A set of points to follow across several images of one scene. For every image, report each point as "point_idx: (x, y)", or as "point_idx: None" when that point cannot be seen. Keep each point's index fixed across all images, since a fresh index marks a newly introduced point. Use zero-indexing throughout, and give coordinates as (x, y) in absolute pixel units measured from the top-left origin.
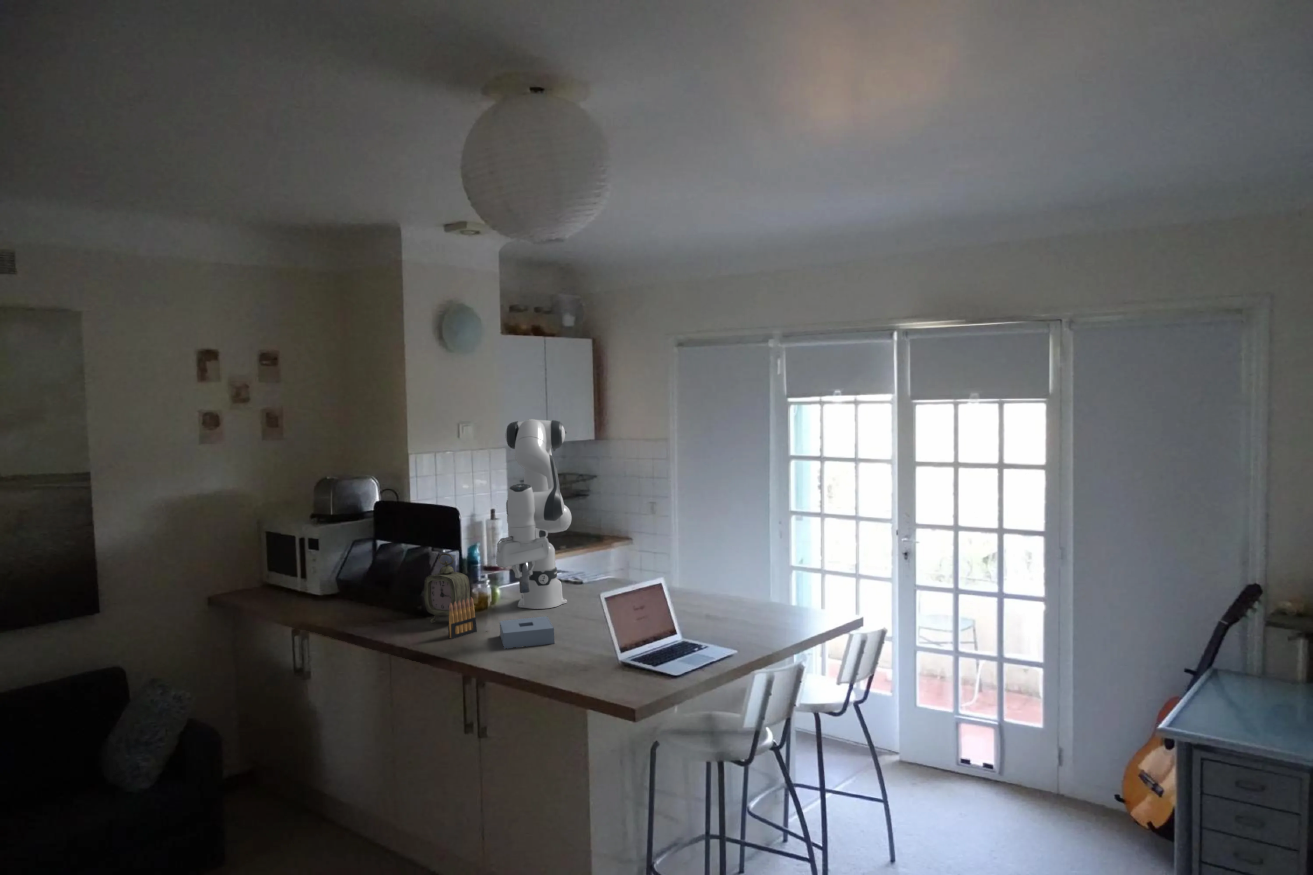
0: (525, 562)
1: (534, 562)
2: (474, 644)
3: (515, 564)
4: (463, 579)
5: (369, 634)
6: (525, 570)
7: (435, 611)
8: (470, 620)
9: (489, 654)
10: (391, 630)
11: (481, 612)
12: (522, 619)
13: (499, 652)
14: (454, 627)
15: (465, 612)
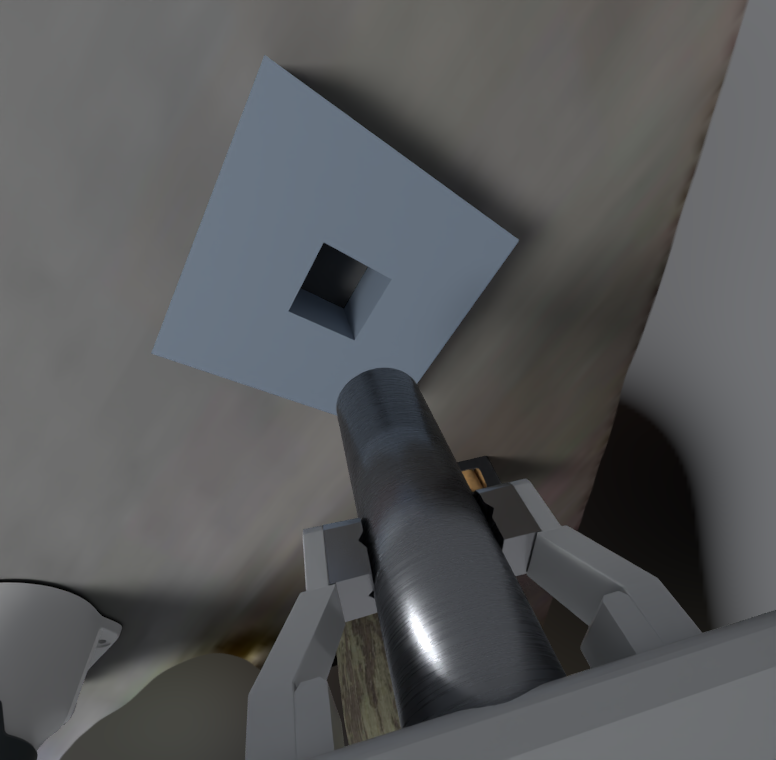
0: (538, 690)
1: (258, 727)
2: (496, 361)
3: (770, 622)
4: (384, 726)
5: None
6: (472, 548)
7: None
8: None
9: (571, 197)
10: None
11: (254, 622)
12: (296, 387)
13: (533, 187)
14: (490, 483)
15: None
